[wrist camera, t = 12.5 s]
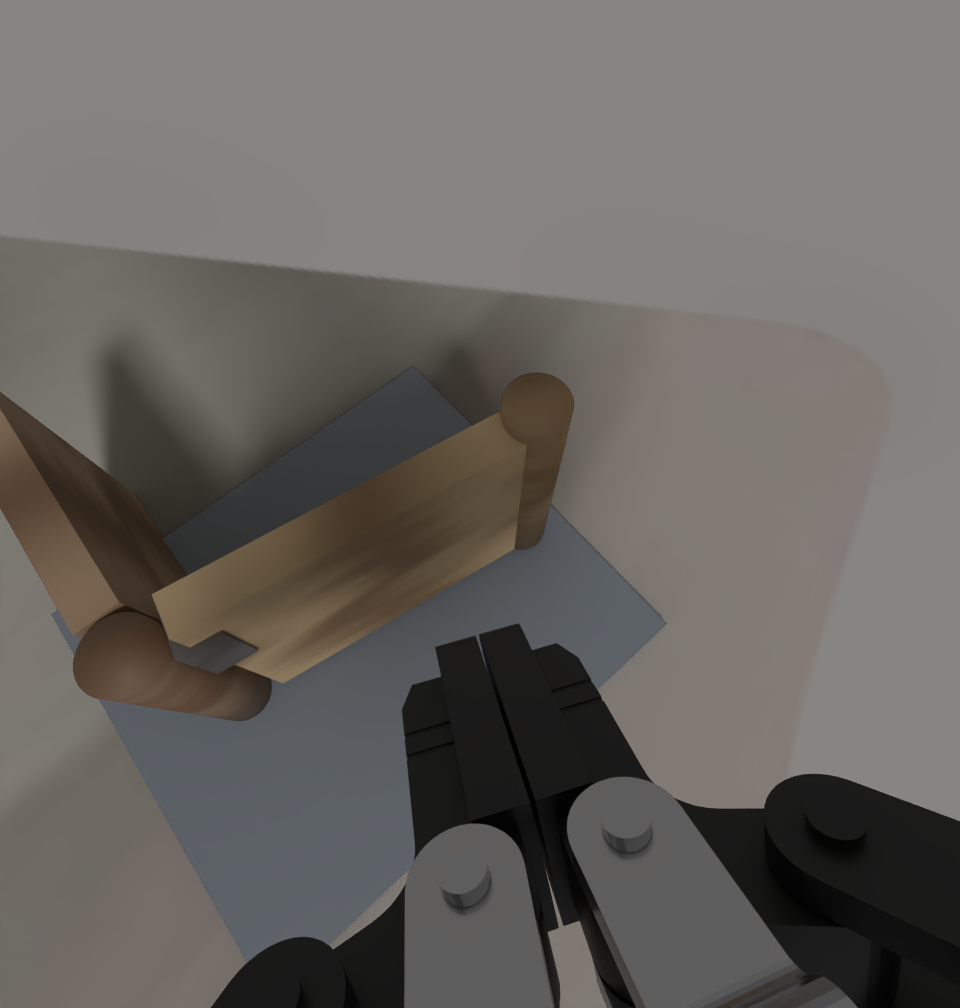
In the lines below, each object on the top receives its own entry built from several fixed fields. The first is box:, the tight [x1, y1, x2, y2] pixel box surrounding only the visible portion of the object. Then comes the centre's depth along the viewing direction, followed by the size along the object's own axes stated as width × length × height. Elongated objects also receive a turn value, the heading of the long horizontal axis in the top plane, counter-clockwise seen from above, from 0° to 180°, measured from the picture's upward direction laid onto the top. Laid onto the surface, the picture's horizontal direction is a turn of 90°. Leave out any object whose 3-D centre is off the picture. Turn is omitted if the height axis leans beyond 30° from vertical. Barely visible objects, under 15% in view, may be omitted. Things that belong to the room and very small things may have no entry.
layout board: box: [51, 366, 667, 963], centre depth 22 cm, size 15×17×1 cm
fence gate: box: [152, 373, 574, 683], centre depth 18 cm, size 11×2×9 cm, turn 121°
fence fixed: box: [0, 392, 272, 721], centre depth 19 cm, size 11×2×8 cm, turn 40°
